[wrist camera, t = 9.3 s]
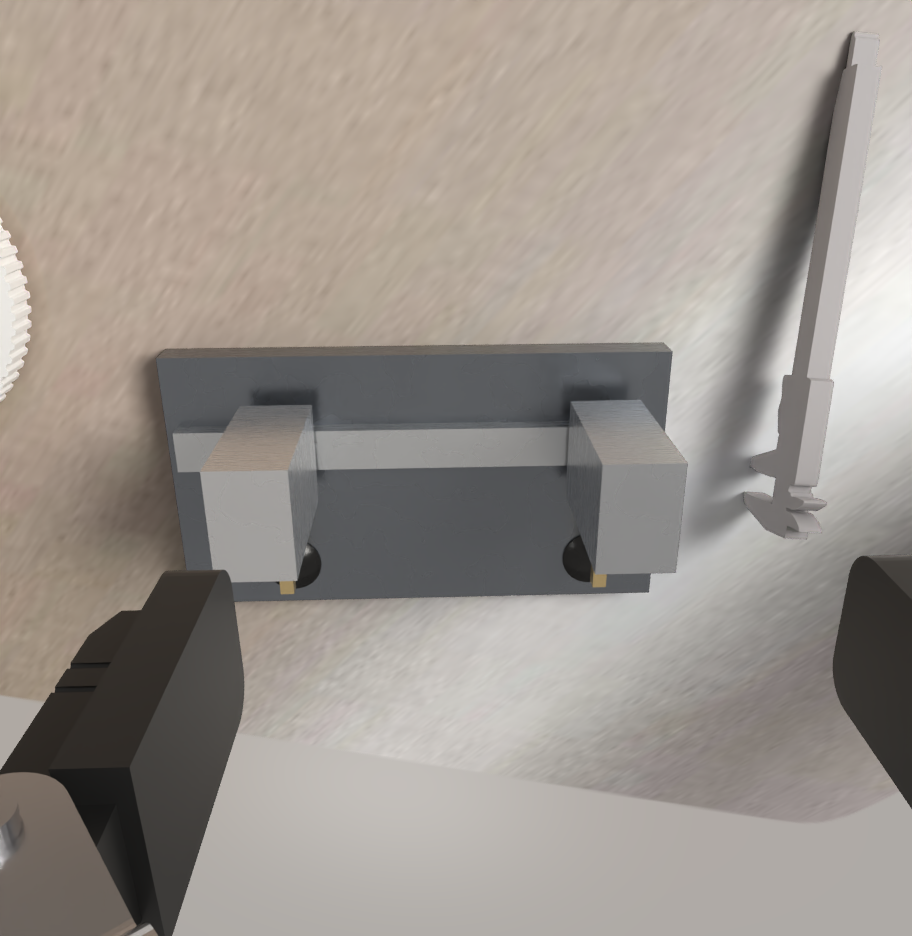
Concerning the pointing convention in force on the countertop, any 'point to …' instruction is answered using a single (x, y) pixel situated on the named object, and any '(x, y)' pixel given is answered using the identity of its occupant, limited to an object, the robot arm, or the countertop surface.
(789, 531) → the caliper
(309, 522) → the leg
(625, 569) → the fixed leg
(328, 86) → the countertop surface
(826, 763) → the countertop surface
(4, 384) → the plastic lid
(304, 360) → the hole plate
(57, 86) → the countertop surface
